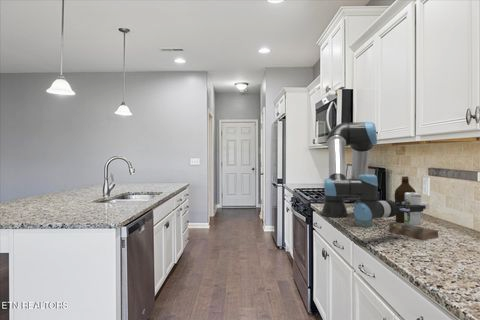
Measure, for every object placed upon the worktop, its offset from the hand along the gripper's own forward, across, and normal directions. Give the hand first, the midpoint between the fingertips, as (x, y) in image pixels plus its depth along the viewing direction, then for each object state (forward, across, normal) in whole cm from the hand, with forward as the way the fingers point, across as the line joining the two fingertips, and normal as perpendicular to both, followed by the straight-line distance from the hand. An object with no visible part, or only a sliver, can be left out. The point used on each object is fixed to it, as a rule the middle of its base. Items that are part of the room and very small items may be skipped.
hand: (419, 205), depth 157 cm
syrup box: (-5, 0, -9) cm, 10 cm away
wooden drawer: (-5, 0, -13) cm, 14 cm away
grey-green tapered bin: (-11, -24, -14) cm, 30 cm away
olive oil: (+14, -19, -13) cm, 27 cm away
